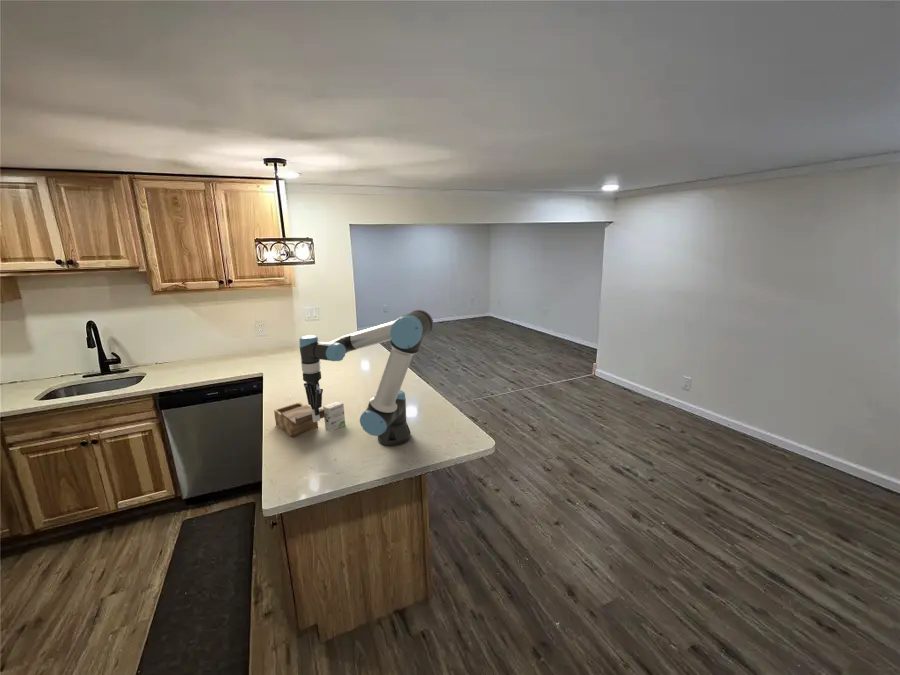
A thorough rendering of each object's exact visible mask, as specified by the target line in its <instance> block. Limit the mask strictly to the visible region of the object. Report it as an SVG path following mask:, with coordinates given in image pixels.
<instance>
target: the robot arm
mask: <svg viewBox="0 0 900 675" xmlns="http://www.w3.org/2000/svg"><path fill="white" fill-rule="evenodd" d="M433 329H434V321H433V318H432V316H431V315H430V314H429V312H427V311H425V310H422V309H417V310H412V311H411V312H409V313H407V314H405V315H401V316H399V317H398V318H397V319H396V320H392V321H389V322H386V323H382V324H379V325H376V326H372V327H369V328H365V329H361V330H358V331H355V332H352V333H345V334H343V335H341V336H340V337H338V338H334V339H333V340H331V341H319V338H318V336H317V335H314V334H307V335H303V336H301V337H300V338H299V339H298V340H299V346H298V347H299V353H300V360H301V362H300V364H301V371H302V380H303V382H304V383H303V386H304V387H303V388H304V390H305V394H306V399H307V405H308V406H310V407H311V408H312V418H313V422H319V421H321V419H320V414H319V409H322V408H323V405H322V404H323V391H324V389H323V388H320V382H319V381H321V379H322V372H321V361H320V360H322V361H330V362H341V361H343V360H344V358H345V356H346V354H347V353H349V352H352V351H356V350H359V349H363V348H367V347H371V346H375V345H378V344H383V343H386V342H389V341H390V342H389V344H390V346H391V350H390V353H389V355H388V358H387V361H386V364H385V368H384V370H383V372H382V376H381V379H380V381H379V383H378V384H379V385H378V387H377V390H376V393H375V395H372V397H370V400H369V401H368V404H367V408H366V410H364V411H363V412H362V414H361V415H360V417H359V423H360V426H361V428H362V430H363V431H364V432H366V433H367V434H368V435H370V436H373V437H377V441H378V443H379V444H381V445H383V446H388V447H398V446H402V445H405V444H406V443H408V442H409V441H410V440H411V438H412V436H411V435H412V434H411V433H412V432H411V430H410V426H409V424H408V422H407V407H406V406H407V401H406V399H407V398H406V393H405V392H404V391H403V390H402V389H401V388H402V386H403V382H404V380H405V377H406V375H407V372H408V369H409V366H410V364H411V361H412V358H413V356H414V355H416V354H418V353H419V350H420V348H421V345H422V343H423V341H424V339H426V338H427V337H429V335H431V333H432V331H433Z"/></svg>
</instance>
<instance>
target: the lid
mask: <svg viewBox="0 0 900 675" xmlns="http://www.w3.org/2000/svg"><path fill="white" fill-rule="evenodd" d="M303 405H304V406H301V407H298V408H295V409H292V410H288V411H285V412H282V413H281V415H282V416H284V417H285V418H287V419H288V420H289V421H291V422H292V423H294V424H295V425H296V426H298V427H299V426H301V425H304V424H307V423H310V422H313V418H312V407H311V406H310V405H309V404H303ZM319 414H320V420H321V419H324V417H325V414H324V409H323V408H319Z"/></svg>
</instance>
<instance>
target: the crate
mask: <svg viewBox="0 0 900 675" xmlns="http://www.w3.org/2000/svg"><path fill="white" fill-rule="evenodd" d="M304 405H305V404H303V403H302V402H299V401H298V402H296V403H293V404H289V405H286V406H283V407H279V408H277V409H273V411H274V412H273V413H274V419H275V426H277V427H278V428H279V429H281V430H282V431H283V432H285V434H287V435H288V436H290V437H291V438H294V437H296V436H300V435H302V434H305V433H308V432H310V431H313V430H316V429H318V428H319V423H318V422H319V421H317V422H310V423H307V424H304V425H301V426H299V427H298V426H296V425H295V424H294V423H292V422H291V421H289V420H288V419H287V418H285V417H284V416H282V415H281V413H282V412H285V411H288V410H292V409H295V408H298V407H301V406H304Z"/></svg>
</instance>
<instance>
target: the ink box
mask: <svg viewBox="0 0 900 675" xmlns="http://www.w3.org/2000/svg"><path fill="white" fill-rule="evenodd" d="M322 409H324V414H325V417H324V418H323V419H324V429H326V430H328V431H330V432H331V431H332V432H333V431H334V430H336V429H339V428H341V427H344V426H346V419H345V407H344V403H343V402H342V401H339V400H337V401H334V402H332V403H329V404H325V405H322Z"/></svg>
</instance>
